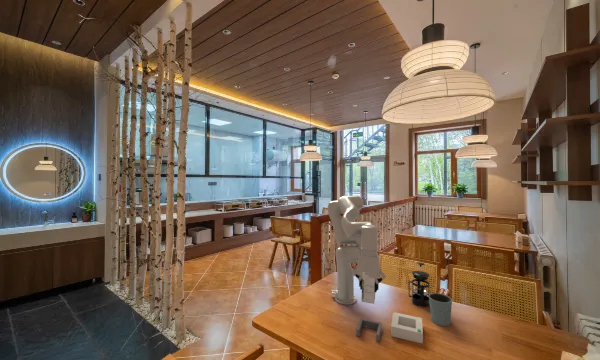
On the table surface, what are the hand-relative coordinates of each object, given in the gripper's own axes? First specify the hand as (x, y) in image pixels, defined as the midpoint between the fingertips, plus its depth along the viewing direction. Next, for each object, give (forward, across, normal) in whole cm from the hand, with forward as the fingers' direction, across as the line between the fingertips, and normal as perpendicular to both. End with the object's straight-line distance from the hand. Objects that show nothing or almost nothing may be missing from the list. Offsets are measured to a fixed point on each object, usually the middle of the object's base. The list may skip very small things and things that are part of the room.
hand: (368, 289), depth 116 cm
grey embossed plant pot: (+20, +32, +23) cm, 44 cm away
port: (+20, +17, +7) cm, 27 cm away
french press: (+21, +23, +39) cm, 50 cm away
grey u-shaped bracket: (+20, +1, -1) cm, 20 cm away
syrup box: (+5, 0, 0) cm, 5 cm away
